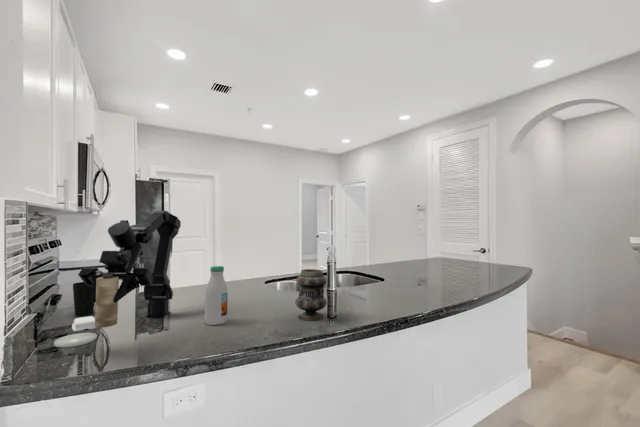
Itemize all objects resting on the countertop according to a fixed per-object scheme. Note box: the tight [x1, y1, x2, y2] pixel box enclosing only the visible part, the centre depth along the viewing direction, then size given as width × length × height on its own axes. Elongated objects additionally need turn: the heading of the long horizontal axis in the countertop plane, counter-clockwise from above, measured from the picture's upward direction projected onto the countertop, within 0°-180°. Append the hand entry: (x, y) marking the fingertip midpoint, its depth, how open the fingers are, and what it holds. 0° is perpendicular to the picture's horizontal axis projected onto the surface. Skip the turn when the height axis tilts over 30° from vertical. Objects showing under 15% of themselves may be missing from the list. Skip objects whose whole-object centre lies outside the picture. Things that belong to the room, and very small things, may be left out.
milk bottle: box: [204, 265, 229, 326], centre depth 114 cm, size 8×8×20 cm
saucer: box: [53, 332, 98, 349], centre depth 94 cm, size 10×10×1 cm
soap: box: [71, 315, 98, 332], centre depth 107 cm, size 9×7×3 cm
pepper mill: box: [94, 273, 120, 329], centre depth 88 cm, size 5×5×14 cm
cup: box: [72, 281, 95, 317], centre depth 122 cm, size 8×8×12 cm
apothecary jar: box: [295, 268, 328, 322], centre depth 121 cm, size 12×12×18 cm
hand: (104, 301), depth 87 cm, fingers closed on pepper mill, 5 cm apart
